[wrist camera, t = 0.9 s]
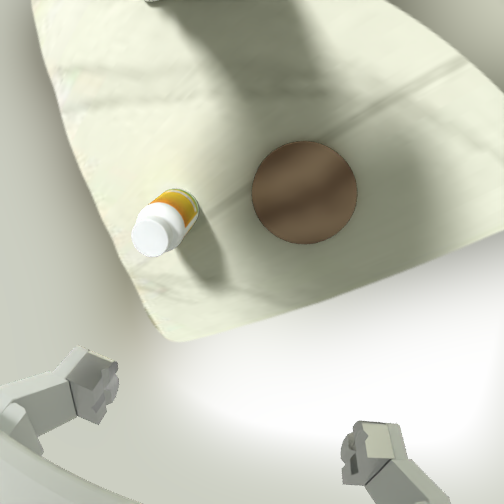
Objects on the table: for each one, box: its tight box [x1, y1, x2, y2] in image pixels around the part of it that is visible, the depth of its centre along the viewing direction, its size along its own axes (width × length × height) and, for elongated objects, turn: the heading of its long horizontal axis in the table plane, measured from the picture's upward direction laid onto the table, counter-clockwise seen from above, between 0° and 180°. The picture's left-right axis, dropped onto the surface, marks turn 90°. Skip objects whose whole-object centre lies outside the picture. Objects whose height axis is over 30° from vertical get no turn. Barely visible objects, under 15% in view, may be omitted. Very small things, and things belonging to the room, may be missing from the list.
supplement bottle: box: [132, 188, 199, 257], centre depth 35 cm, size 5×5×10 cm
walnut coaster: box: [252, 141, 357, 244], centre depth 36 cm, size 12×12×1 cm
